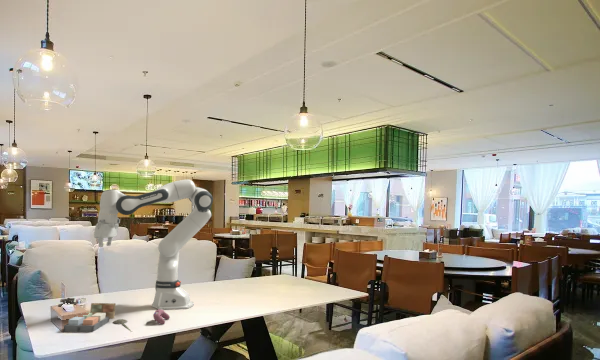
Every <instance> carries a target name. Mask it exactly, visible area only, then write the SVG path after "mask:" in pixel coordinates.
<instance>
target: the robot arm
mask: <svg viewBox="0 0 600 360" xmlns="http://www.w3.org/2000/svg"><path fill="white" fill-rule="evenodd" d="M184 199H188V200H189V201H190V202H191V204H192V205H193V206H194V207H193V210H192V211H191V212H190V213H189V214H188V215H187V216H186V217H184V219H182V221H180V222H179V223H178V224H177V225H176V226H175V227H174V228H173V229H171V231H170V232H168V234H167V235H166V236H165V237H163V238H162V239H161V240H160V241H159V243H158V246H157V247H158V248H157V249H158V252H159V253H158V254H159V256H158V263H157V273H156V275H157V277H156V281H155V287H154V288H155V294H154V299H153V303H152V304H151V307H152V308H155V309H157V310H158V309H162V310H184V309H185V310H186V309H187V310H188V309H190V308H192V307H193V306H194V301H191V296H190V293H189V292H188V291H186V290H185V289H184V288H183V287H181V284H182V281H181V280H179V279H178V273H179V272H178V271H179V262H180V261H179V260H180V252H181V249H182V248H184V246H186V244H187V243H188V242H189V241H190V240H191V239H192V238H193V237H194V236H195V235H196V234H197V233H198V232H200V230H201V229H203V227H204V226H206V224H207V223H208V222H209V220H210V219H211V217H212V212H211V207H212V205H213V203H214V197H213V195H212V194H211V193H210V192H209V191H208V189H205V188H203V187H200V186H196V184H195V182H194V181H193V180H191V179H189V178H188V179H181V180H176V181H172V182H169V183H166V184H164V185H162V186H160V187H158V188H157V189H155V190H153V191H150V192H146V193H143V194H138V195H126V193H125V194H124V193H123V192H121V191H120V190H119V189H115V188H114V189H106V190H103V192H102V193H101V196H100V201H99V212H98V217H97V223H96V224H95V227H94V233H93V237H94V239H97V242H98V247H99V248H103V247H104V245H105V243H104V239H107V242H106V246H107V247H110V246H112V242H113V241H114V240H113V239H114V238H116V237H117V235H118V233H119V224H120V223H121V219H120V218H119V217H118V214H121V215H123V216H130V215H132V214H134V213H135V212H137V210H139V209H141V208H143V207H147V206H149V205H153V204H159V203H166V204H167V203H174V202H178V201H181V200H184Z"/></svg>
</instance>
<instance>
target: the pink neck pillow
mask: <svg viewBox="0 0 600 360" xmlns="http://www.w3.org/2000/svg"><path fill="white" fill-rule="evenodd" d="M152 317H153V319H154V321H156V323H157V324H160V325H163V326H164V325H165V323H166V321H165V320H167V321H168V320H170V318H171V317H170V315H169V314H168V313H167V312H166V311H165V309H158V308H157V310H155V312H154V313H153V314H152Z"/></svg>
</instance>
